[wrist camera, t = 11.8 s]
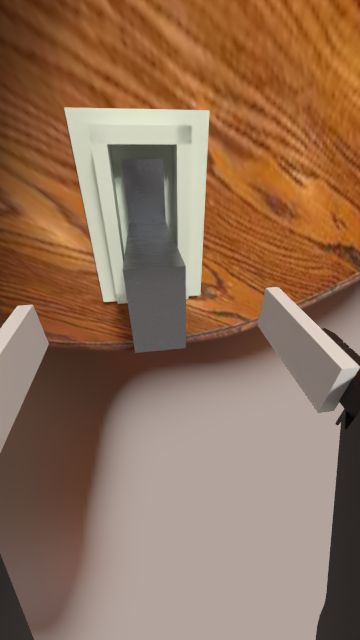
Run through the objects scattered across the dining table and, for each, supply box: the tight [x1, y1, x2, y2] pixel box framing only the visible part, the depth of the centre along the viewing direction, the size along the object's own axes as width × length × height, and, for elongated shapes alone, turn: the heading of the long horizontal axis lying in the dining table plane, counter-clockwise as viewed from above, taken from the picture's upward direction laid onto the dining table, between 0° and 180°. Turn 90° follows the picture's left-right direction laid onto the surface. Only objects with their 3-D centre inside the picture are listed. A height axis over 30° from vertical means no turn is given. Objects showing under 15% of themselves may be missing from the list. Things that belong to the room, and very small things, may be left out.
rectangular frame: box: [64, 108, 209, 304], centre depth 25 cm, size 12×18×4 cm, turn 0°
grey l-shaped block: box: [121, 159, 186, 353], centre depth 20 cm, size 4×11×14 cm, turn 1°
